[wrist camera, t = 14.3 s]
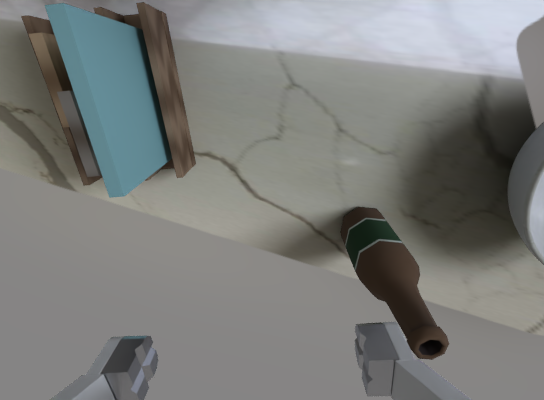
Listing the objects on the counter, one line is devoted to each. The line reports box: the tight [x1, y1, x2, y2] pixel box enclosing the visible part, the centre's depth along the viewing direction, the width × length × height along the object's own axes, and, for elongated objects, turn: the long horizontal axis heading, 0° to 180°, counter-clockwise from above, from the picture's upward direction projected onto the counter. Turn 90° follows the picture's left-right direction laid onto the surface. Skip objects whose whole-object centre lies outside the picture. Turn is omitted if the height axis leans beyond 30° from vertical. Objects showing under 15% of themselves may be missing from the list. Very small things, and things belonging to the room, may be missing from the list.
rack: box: [21, 2, 196, 185], centre depth 39 cm, size 20×14×6 cm
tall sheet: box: [45, 3, 172, 197], centre depth 33 cm, size 16×2×16 cm, turn 5°
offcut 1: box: [29, 33, 73, 128], centre depth 36 cm, size 10×2×6 cm, turn 5°
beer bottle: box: [341, 207, 449, 360], centre depth 38 cm, size 8×8×24 cm
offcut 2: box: [57, 90, 102, 177], centre depth 38 cm, size 10×2×8 cm, turn 5°
